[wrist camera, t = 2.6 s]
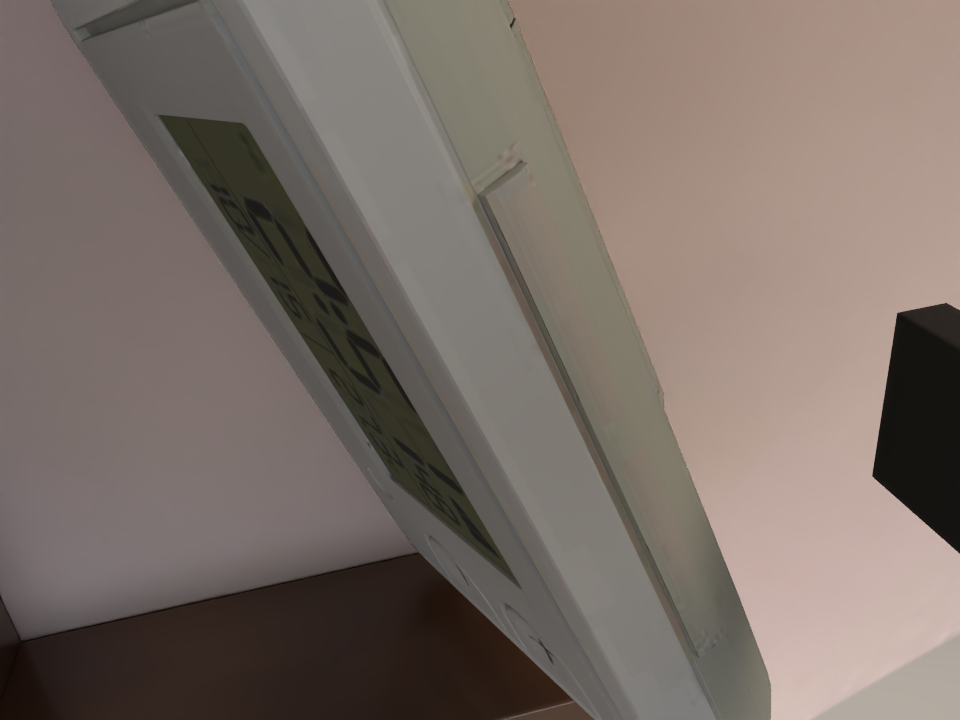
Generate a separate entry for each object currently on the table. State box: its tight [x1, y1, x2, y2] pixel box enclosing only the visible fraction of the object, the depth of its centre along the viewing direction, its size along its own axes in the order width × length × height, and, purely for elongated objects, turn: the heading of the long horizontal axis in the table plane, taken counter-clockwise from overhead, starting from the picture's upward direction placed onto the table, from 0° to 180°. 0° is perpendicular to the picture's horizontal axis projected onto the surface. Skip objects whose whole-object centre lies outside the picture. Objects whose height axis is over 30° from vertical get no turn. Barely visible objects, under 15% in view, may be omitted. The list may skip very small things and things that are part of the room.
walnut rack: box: [0, 554, 594, 720], centre depth 17 cm, size 18×20×6 cm
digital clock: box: [51, 0, 771, 720], centre depth 15 cm, size 16×9×11 cm, turn 13°
